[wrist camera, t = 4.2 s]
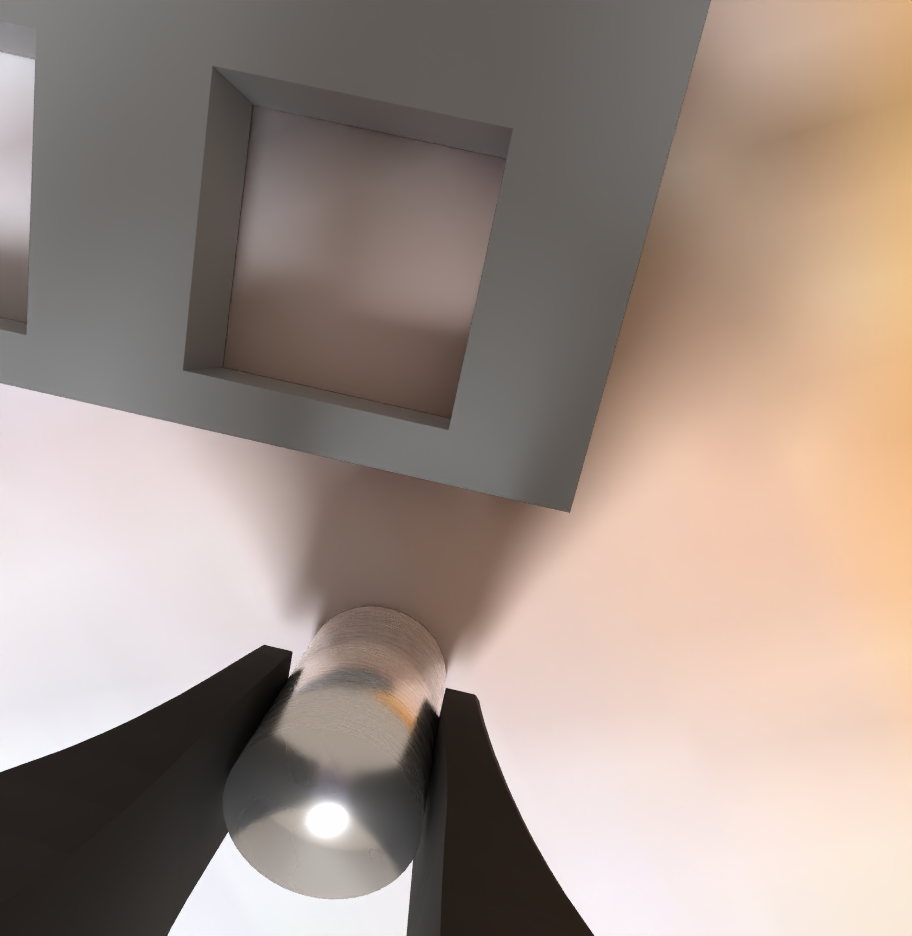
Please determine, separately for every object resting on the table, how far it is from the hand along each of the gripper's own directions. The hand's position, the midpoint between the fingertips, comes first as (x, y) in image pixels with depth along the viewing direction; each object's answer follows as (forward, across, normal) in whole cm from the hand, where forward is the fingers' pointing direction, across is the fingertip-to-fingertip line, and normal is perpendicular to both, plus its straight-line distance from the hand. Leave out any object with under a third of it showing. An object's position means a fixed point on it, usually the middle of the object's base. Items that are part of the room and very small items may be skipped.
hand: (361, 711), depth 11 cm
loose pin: (+1, 0, 0) cm, 1 cm away
